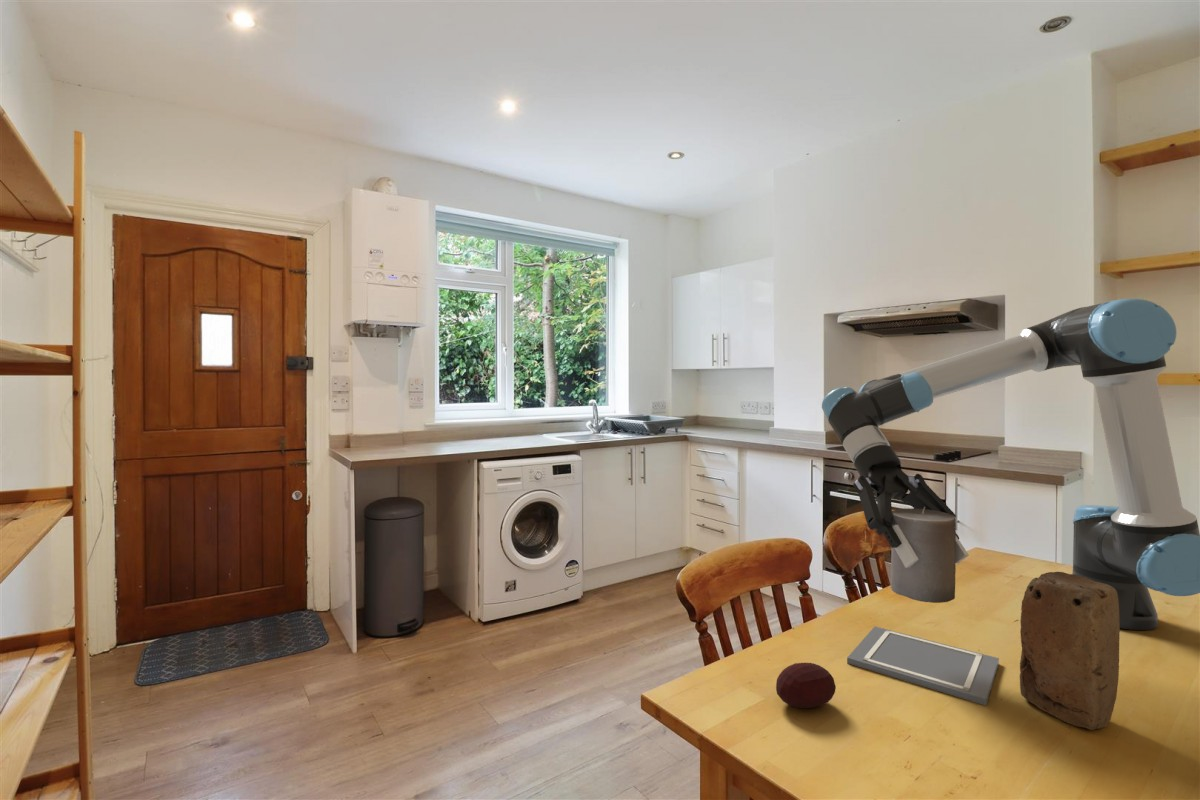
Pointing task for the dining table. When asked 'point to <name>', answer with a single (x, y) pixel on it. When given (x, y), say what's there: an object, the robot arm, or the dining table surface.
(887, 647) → the slate tile
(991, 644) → the dining table surface
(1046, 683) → the block
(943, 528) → the pillar candle
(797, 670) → the potato
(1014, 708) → the dining table surface
